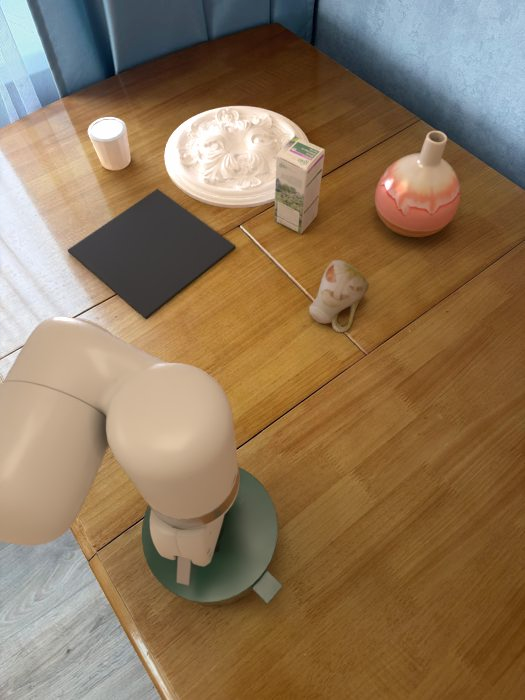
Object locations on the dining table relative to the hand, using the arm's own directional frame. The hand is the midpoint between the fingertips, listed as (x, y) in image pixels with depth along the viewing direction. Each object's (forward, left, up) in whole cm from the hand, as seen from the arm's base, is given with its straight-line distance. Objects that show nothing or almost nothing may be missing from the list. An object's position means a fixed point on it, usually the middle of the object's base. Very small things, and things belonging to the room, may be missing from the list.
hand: (209, 526), depth 56 cm
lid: (0, 0, -1) cm, 1 cm away
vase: (+61, +14, -11) cm, 63 cm away
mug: (+38, +12, -11) cm, 41 cm away
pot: (0, 0, -11) cm, 11 cm away
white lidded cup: (+36, +64, -11) cm, 74 cm away
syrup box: (+48, +29, -11) cm, 57 cm away
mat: (+26, +42, -11) cm, 51 cm away
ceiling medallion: (+53, +48, -11) cm, 72 cm away
